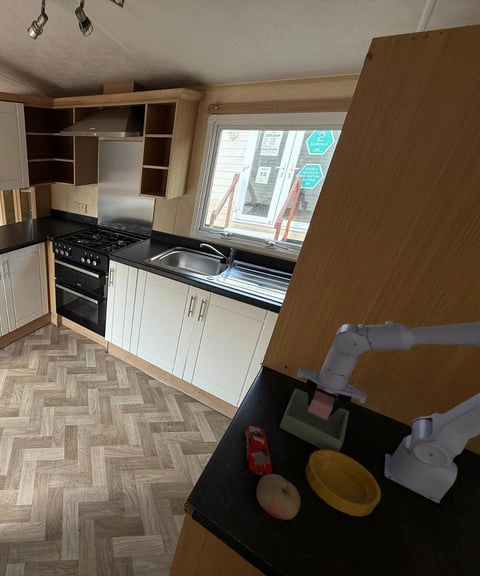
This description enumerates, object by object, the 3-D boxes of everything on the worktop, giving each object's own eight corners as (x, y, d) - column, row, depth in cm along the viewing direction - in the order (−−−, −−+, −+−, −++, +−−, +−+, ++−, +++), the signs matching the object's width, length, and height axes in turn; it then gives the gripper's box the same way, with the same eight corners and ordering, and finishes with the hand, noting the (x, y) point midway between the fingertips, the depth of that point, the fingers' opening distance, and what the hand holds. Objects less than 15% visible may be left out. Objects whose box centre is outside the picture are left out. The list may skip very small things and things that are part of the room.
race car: (271, 481, 74) (275, 471, 72) (246, 474, 75) (250, 463, 74) (264, 435, 85) (268, 425, 83) (242, 430, 86) (246, 420, 85)
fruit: (286, 536, 64) (297, 514, 60) (247, 506, 69) (255, 484, 65) (298, 508, 68) (310, 485, 65) (261, 481, 74) (269, 459, 70)
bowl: (375, 484, 73) (382, 473, 71) (371, 532, 64) (379, 521, 63) (310, 450, 81) (315, 439, 79) (299, 488, 72) (304, 477, 70)
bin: (342, 425, 88) (349, 411, 86) (335, 457, 79) (343, 443, 77) (290, 401, 96) (295, 388, 93) (278, 428, 87) (284, 414, 85)
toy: (329, 410, 85) (335, 398, 83) (326, 420, 82) (332, 408, 80) (310, 402, 87) (315, 390, 85) (307, 411, 84) (312, 399, 82)
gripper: (300, 363, 80) (286, 402, 86) (373, 391, 71) (351, 432, 77) (306, 350, 84) (292, 388, 90) (375, 375, 76) (354, 415, 82)
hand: (319, 407), depth 84 cm, fingers closed on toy, 4 cm apart
